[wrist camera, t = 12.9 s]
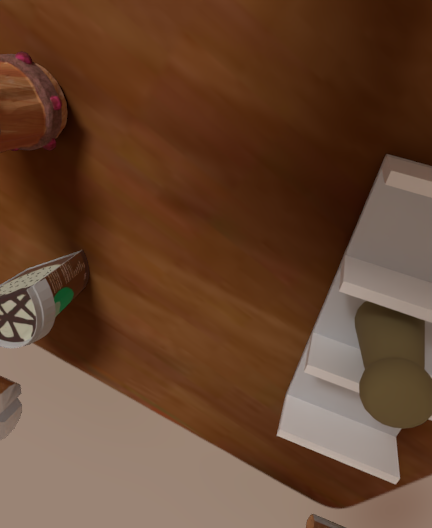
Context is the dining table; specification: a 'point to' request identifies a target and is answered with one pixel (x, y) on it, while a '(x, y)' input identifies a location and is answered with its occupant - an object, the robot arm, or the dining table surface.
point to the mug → (29, 105)
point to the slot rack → (343, 322)
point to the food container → (39, 298)
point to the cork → (393, 366)
